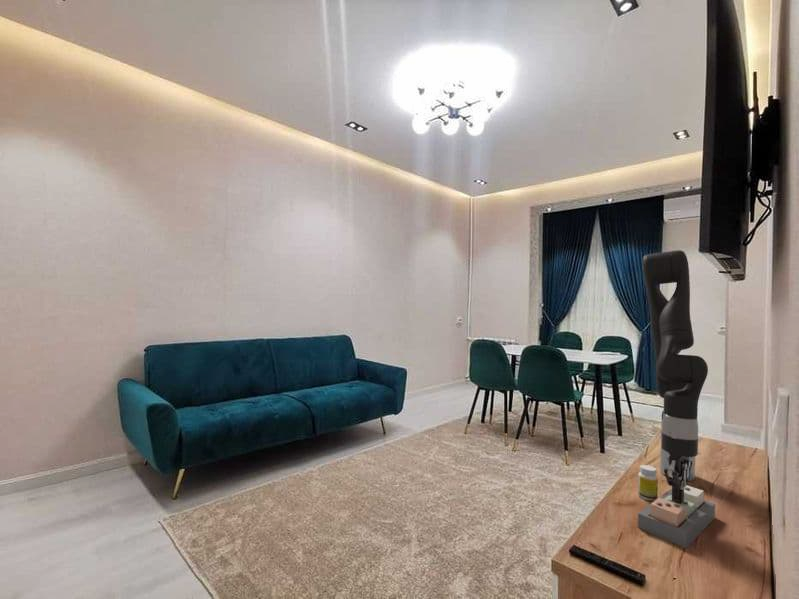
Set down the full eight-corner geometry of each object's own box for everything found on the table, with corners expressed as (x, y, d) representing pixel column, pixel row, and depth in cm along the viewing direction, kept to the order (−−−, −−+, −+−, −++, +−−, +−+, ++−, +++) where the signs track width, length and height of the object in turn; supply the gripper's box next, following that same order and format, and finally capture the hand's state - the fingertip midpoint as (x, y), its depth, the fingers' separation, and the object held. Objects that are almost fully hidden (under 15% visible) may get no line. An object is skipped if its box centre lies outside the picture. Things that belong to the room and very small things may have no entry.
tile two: (669, 506, 104) (669, 493, 104) (694, 515, 99) (694, 502, 99) (660, 512, 100) (661, 499, 100) (687, 523, 96) (687, 509, 96)
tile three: (659, 509, 99) (659, 496, 100) (685, 519, 95) (685, 505, 95) (650, 516, 96) (650, 502, 96) (677, 527, 92) (677, 512, 92)
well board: (670, 501, 111) (670, 488, 111) (714, 517, 103) (715, 504, 103) (637, 527, 97) (638, 513, 97) (686, 548, 89) (686, 532, 89)
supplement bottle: (660, 502, 110) (661, 472, 110) (641, 500, 111) (642, 470, 111) (652, 494, 115) (653, 465, 115) (635, 492, 116) (635, 463, 116)
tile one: (678, 493, 108) (678, 481, 108) (703, 502, 104) (703, 489, 104) (671, 499, 105) (671, 487, 105) (696, 508, 100) (696, 495, 100)
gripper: (671, 424, 107) (670, 488, 107) (652, 433, 99) (650, 503, 99) (705, 432, 101) (704, 500, 101) (688, 443, 93) (686, 516, 93)
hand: (677, 501), depth 100 cm, fingers closed
